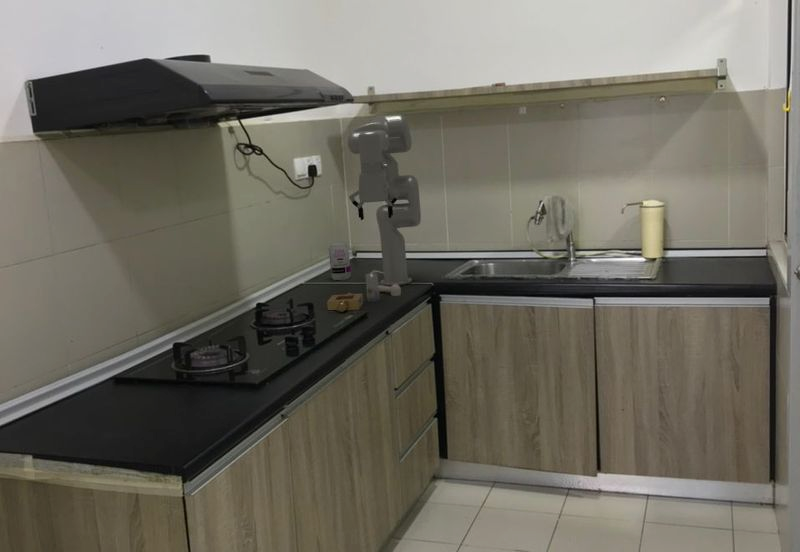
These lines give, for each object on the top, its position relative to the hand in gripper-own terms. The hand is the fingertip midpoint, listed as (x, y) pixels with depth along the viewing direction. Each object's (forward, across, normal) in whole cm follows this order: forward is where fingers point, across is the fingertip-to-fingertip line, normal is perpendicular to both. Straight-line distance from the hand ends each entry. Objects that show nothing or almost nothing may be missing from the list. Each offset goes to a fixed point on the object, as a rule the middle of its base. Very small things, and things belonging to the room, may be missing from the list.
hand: (376, 218), depth 292 cm
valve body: (+31, +14, -4) cm, 34 cm away
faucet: (+32, +3, -26) cm, 41 cm away
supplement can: (+31, +25, -62) cm, 74 cm away
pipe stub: (+31, +5, -12) cm, 34 cm away
